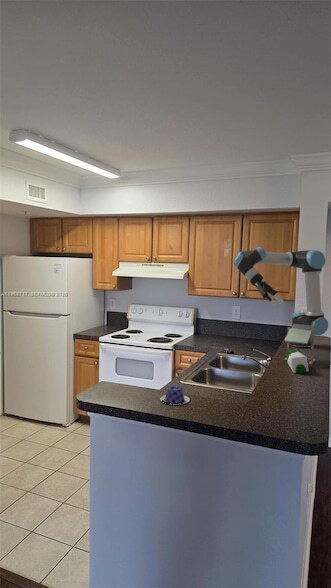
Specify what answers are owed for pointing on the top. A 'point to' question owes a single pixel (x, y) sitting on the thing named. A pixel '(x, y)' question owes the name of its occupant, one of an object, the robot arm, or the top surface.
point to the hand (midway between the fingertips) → (279, 304)
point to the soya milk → (297, 361)
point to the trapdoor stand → (311, 347)
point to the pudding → (175, 395)
